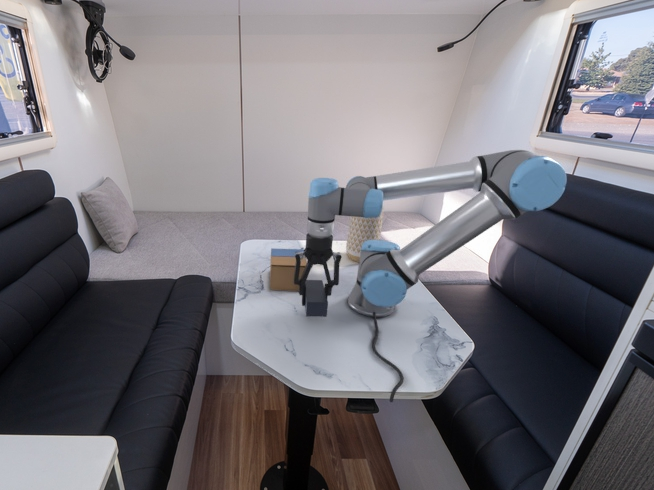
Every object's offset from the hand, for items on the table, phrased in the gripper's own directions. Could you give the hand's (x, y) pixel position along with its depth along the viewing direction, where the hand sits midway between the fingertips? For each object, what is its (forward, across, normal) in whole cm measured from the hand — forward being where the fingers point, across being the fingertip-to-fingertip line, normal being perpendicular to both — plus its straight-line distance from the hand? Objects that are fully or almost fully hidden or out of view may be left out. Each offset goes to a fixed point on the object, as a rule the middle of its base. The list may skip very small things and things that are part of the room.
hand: (314, 303), depth 116 cm
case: (0, 0, 0) cm, 0 cm away
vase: (+6, +26, +50) cm, 57 cm away
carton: (+6, -7, +26) cm, 28 cm away
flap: (-4, -7, +30) cm, 31 cm away
